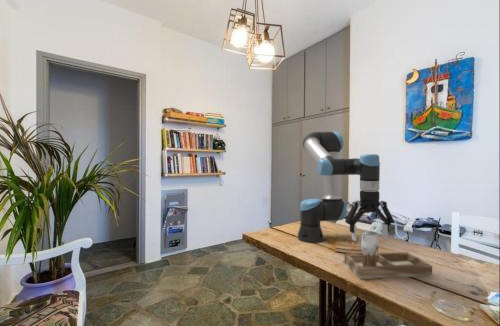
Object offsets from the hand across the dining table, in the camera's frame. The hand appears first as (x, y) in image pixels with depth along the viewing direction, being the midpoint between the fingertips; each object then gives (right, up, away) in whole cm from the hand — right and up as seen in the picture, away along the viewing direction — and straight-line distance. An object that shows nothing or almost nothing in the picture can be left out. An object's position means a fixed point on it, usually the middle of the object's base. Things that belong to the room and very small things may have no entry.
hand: (369, 239), depth 103 cm
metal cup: (0, -12, 0) cm, 12 cm away
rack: (+7, -13, 0) cm, 15 cm away
